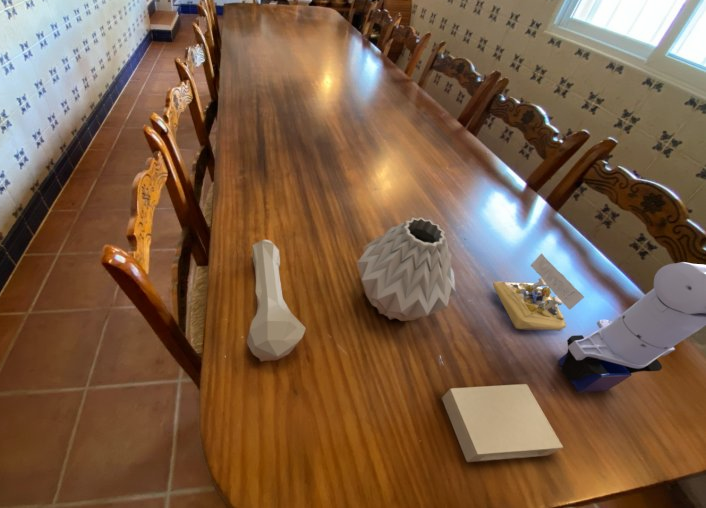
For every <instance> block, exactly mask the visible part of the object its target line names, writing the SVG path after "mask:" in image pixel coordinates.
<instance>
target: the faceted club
mask: <svg viewBox="0 0 706 508" xmlns="http://www.w3.org/2000/svg"><path fill="white" fill-rule="evenodd" d="M251 247H252V249H251V252H252V253H251V254H252V255H251V256H252V262H253V266H254V272H255V273H254V274H255V295H256V301H257V302H256V303H257V310H256V315H255V316H254V317H253V319H252V320H251V323H250V327H249V331H248V336H247V340H246V344H247V346H248V348H249V350H250V351H251V354H252V355H253V356H255V357H256V358H258V359H259V361H260V362H266V361H279V360H280V359H282V358H284V357H286V356H289V354H291V352H293V350H294V348H295V347H296V346H297V345H298V344H299V342H300V341H301V340H302V339H303V337H304V334H305V332H306V330H307V328H306V326H304V324H303V323H302V322H301V321H300V320H299V319H298V318H297V317H296V316H295V315H294V314H293V313H292V312H291V310H290V308H289V307H288V305H287V303H286V301H285V299H284V297H283V291H282V283H281V276H280V270H279V269H280V265H281V258H280V257H281V256H280V250H279V248H278V247H277V246H276V245H275V243H273V242H272V240H270V239H262V240H259V241H258V242H255V243H254V244H251Z"/></svg>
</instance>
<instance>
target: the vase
mask: <svg viewBox="0 0 706 508" xmlns="http://www.w3.org/2000/svg"><path fill="white" fill-rule="evenodd" d="M445 234H446V231H445V230H443V229H441V228H440V224H438V223H434V222H433V221H432V219H425V218H423V217H422V216H420V217H418V218H415V217H411V218H410V219H408V220H405V221H404V222H401V223H400V224H398V225H396V226H395V225H394V226H392V227H390V228H389V229H388V230H387V231H385V232H384V234H383V235H379V236H377V237H375V238H374V239H372V240H371V241H370V242H368V243H367V244H365V245H364V246H363V247H362V255H361V257H360V258H359V259H358V260H357V262H356V265H357V268H358V272H359V275H360V280H361V283H362V285H363V289H364V294H365V296H366V297H367V300H368V301H369V303H370V304H371V306H372V307H375V308H376V310H377V312H378V314H379V315H383V316H385V317H387V318H388V319H389V320H390V321H391V320H395V319H397V320H398V321H401V322H403V321H415V320H417V319H420V318H422V317H429V316H430V315H433V314H436V313H438V312H441V311H443V310H446V309H447V308H448V306H449V301H450V298H451V297H452V296H453V295H454V294H455V293H456V292H457V291H456V280H455V272H454V270H453V268H452V252H451V250H450V249H449V248H448V247H449V246H448V243H449V242H448V241H447V237H446V236H445Z"/></svg>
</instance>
